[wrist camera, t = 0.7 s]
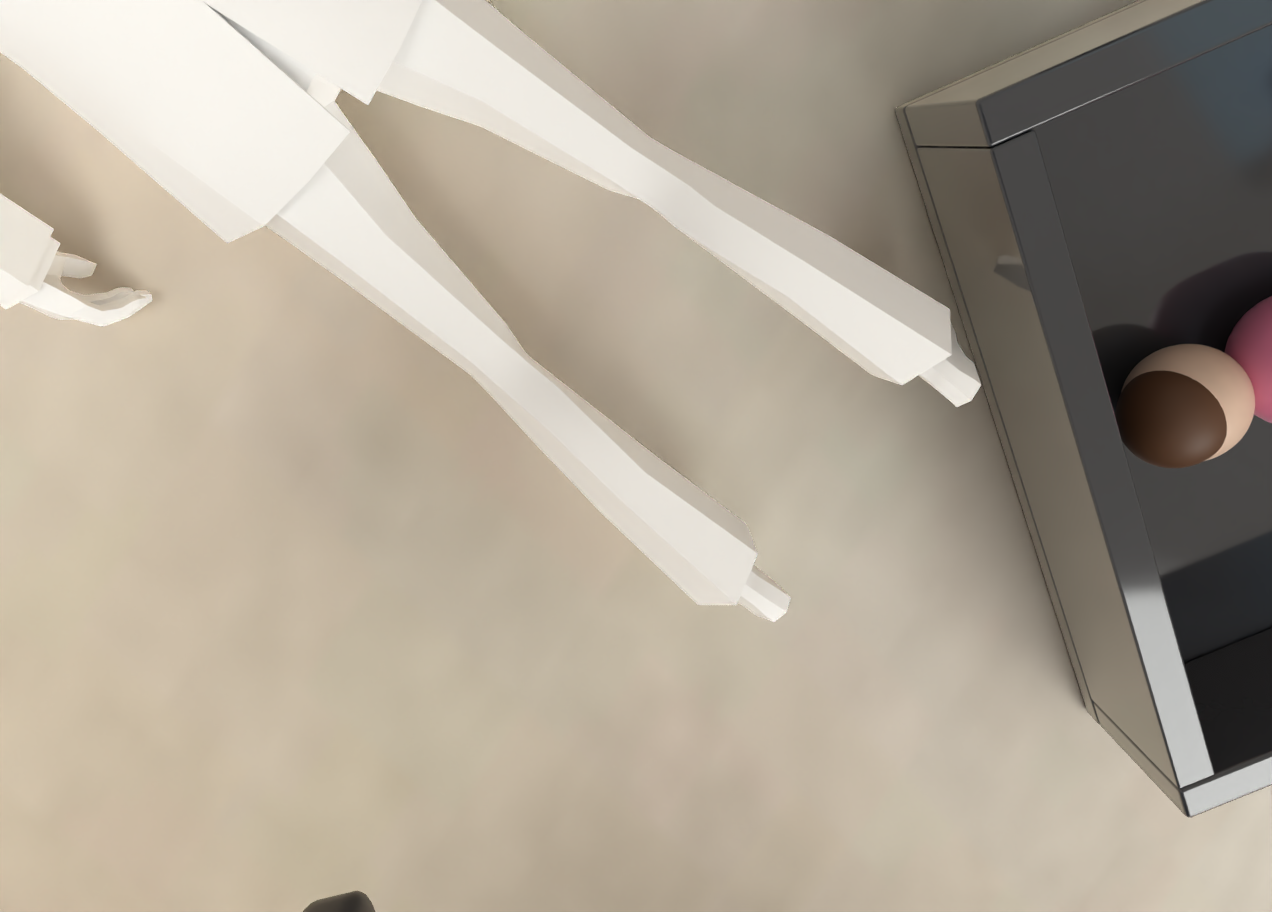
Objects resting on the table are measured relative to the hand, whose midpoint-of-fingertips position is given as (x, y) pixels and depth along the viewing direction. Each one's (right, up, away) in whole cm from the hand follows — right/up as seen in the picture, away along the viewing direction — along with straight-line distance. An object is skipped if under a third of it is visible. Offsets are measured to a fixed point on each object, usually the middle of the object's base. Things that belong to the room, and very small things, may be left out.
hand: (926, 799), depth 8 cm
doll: (+11, +5, +13) cm, 18 cm away
